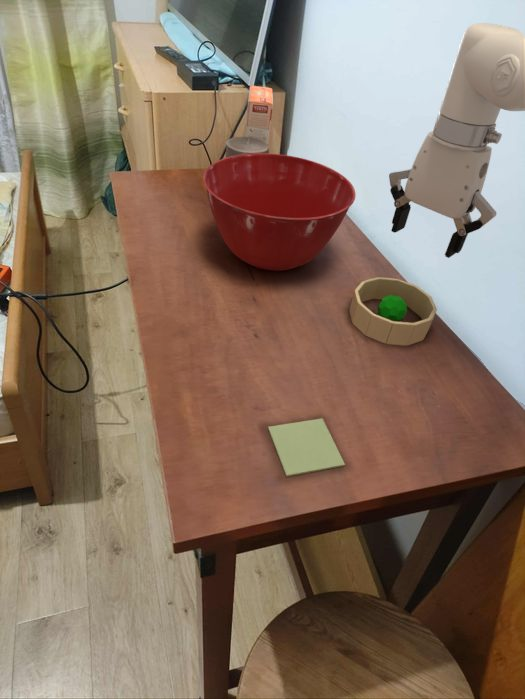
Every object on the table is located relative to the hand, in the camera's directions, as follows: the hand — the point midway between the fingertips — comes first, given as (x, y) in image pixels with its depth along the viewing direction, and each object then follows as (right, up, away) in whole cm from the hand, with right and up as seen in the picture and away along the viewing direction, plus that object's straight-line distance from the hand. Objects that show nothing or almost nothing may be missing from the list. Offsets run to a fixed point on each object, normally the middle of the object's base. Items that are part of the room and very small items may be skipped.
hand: (423, 241), depth 81 cm
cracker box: (-28, +27, +51) cm, 65 cm away
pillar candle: (-30, +18, +41) cm, 54 cm away
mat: (-20, -30, -14) cm, 39 cm away
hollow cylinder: (-3, -12, +10) cm, 16 cm away
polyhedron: (-3, -12, +10) cm, 16 cm away
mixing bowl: (-24, +2, +24) cm, 34 cm away
